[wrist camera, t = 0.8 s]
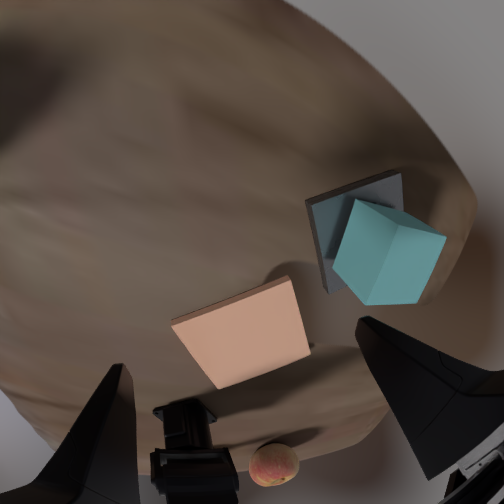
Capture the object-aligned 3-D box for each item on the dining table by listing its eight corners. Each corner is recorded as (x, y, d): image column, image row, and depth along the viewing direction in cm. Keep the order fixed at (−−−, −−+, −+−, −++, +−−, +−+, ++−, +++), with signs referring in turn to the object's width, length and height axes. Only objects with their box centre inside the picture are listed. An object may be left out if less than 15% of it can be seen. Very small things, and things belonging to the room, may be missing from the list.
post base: (397, 252, 26) (434, 282, 21) (323, 287, 26) (354, 327, 21) (392, 169, 22) (440, 189, 17) (304, 200, 21) (343, 230, 16)
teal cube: (405, 212, 22) (446, 236, 17) (382, 271, 24) (416, 303, 20) (355, 199, 20) (398, 224, 16) (331, 267, 22) (364, 305, 18)
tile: (308, 349, 30) (310, 354, 29) (217, 384, 29) (218, 389, 28) (287, 275, 24) (290, 279, 24) (171, 320, 24) (171, 326, 23)
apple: (236, 455, 41) (246, 491, 34) (263, 436, 39) (276, 476, 32) (273, 455, 45) (284, 487, 38) (300, 436, 43) (314, 471, 36)
